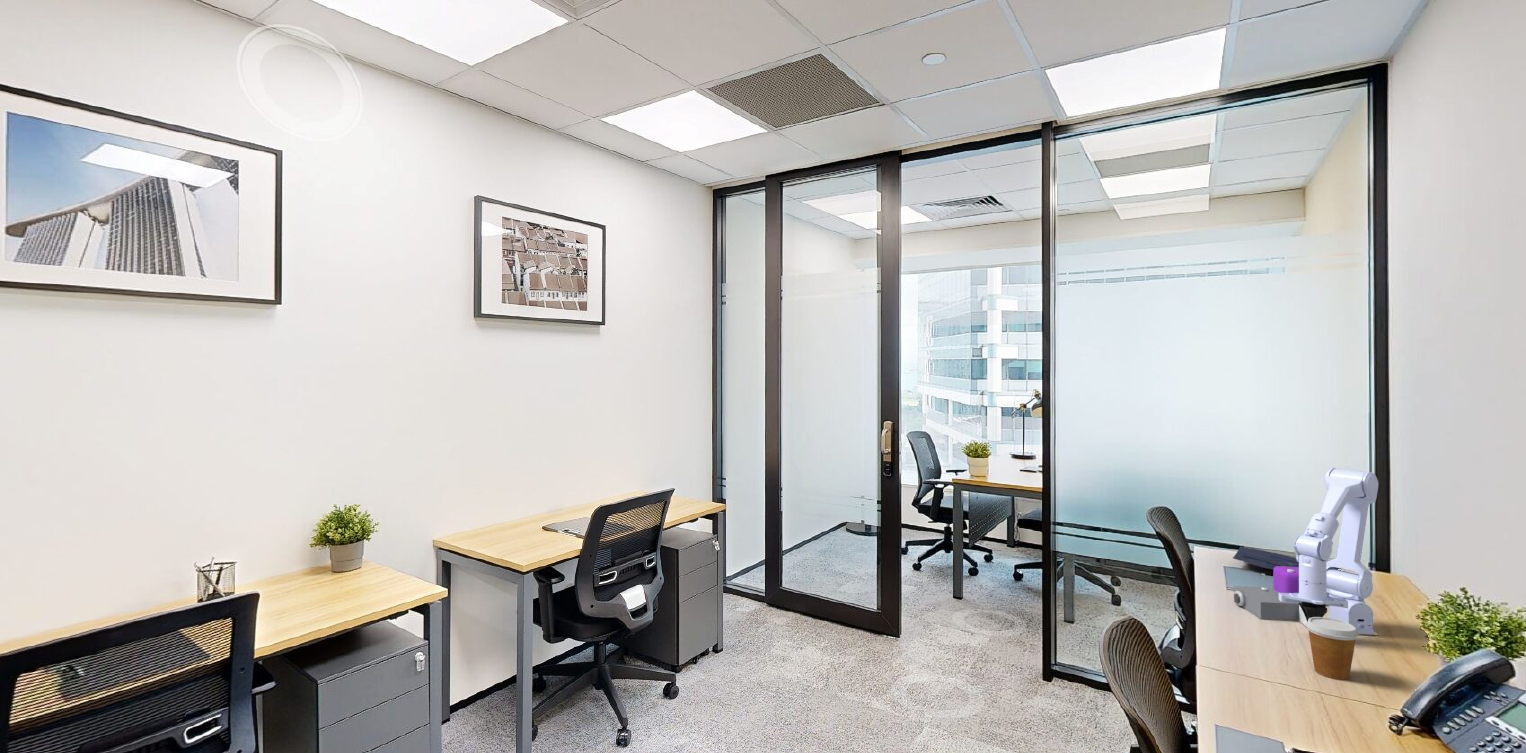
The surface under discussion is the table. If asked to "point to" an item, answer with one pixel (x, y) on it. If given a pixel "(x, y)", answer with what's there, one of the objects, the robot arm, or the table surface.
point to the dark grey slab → (1265, 558)
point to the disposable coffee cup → (1332, 646)
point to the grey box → (1265, 603)
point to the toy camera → (1286, 579)
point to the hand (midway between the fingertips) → (1312, 630)
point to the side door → (1302, 617)
